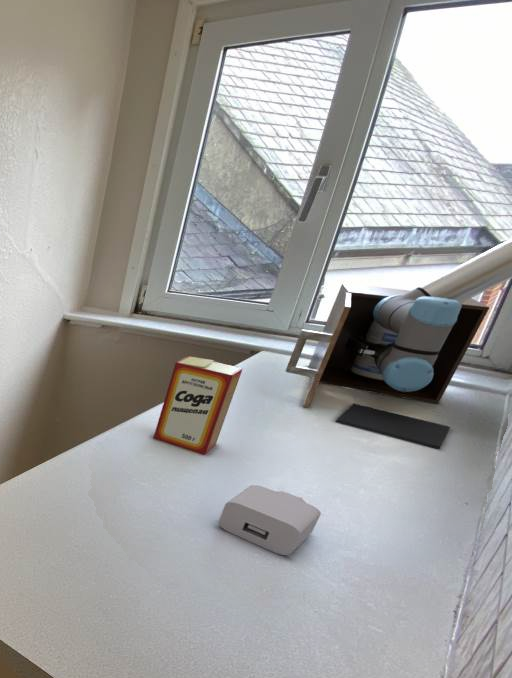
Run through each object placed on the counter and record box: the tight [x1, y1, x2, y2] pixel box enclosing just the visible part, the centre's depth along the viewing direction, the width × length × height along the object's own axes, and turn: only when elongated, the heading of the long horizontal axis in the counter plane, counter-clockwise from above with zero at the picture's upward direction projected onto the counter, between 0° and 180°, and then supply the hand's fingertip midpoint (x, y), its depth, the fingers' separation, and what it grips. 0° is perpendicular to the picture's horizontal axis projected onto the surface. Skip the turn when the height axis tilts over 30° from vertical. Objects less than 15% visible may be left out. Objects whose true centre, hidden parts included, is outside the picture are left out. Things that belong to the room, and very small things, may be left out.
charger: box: [218, 484, 321, 556], centre depth 80 cm, size 5×9×15 cm
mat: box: [335, 403, 451, 450], centre depth 120 cm, size 17×17×1 cm
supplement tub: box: [351, 320, 399, 380], centre depth 142 cm, size 10×10×15 cm
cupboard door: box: [285, 293, 351, 408], centre depth 134 cm, size 7×26×23 cm, turn 141°
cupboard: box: [308, 283, 491, 405], centre depth 142 cm, size 18×26×24 cm
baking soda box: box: [152, 355, 244, 456], centre depth 104 cm, size 10×6×16 cm
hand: (383, 342), depth 145 cm, fingers closed on supplement tub, 9 cm apart
